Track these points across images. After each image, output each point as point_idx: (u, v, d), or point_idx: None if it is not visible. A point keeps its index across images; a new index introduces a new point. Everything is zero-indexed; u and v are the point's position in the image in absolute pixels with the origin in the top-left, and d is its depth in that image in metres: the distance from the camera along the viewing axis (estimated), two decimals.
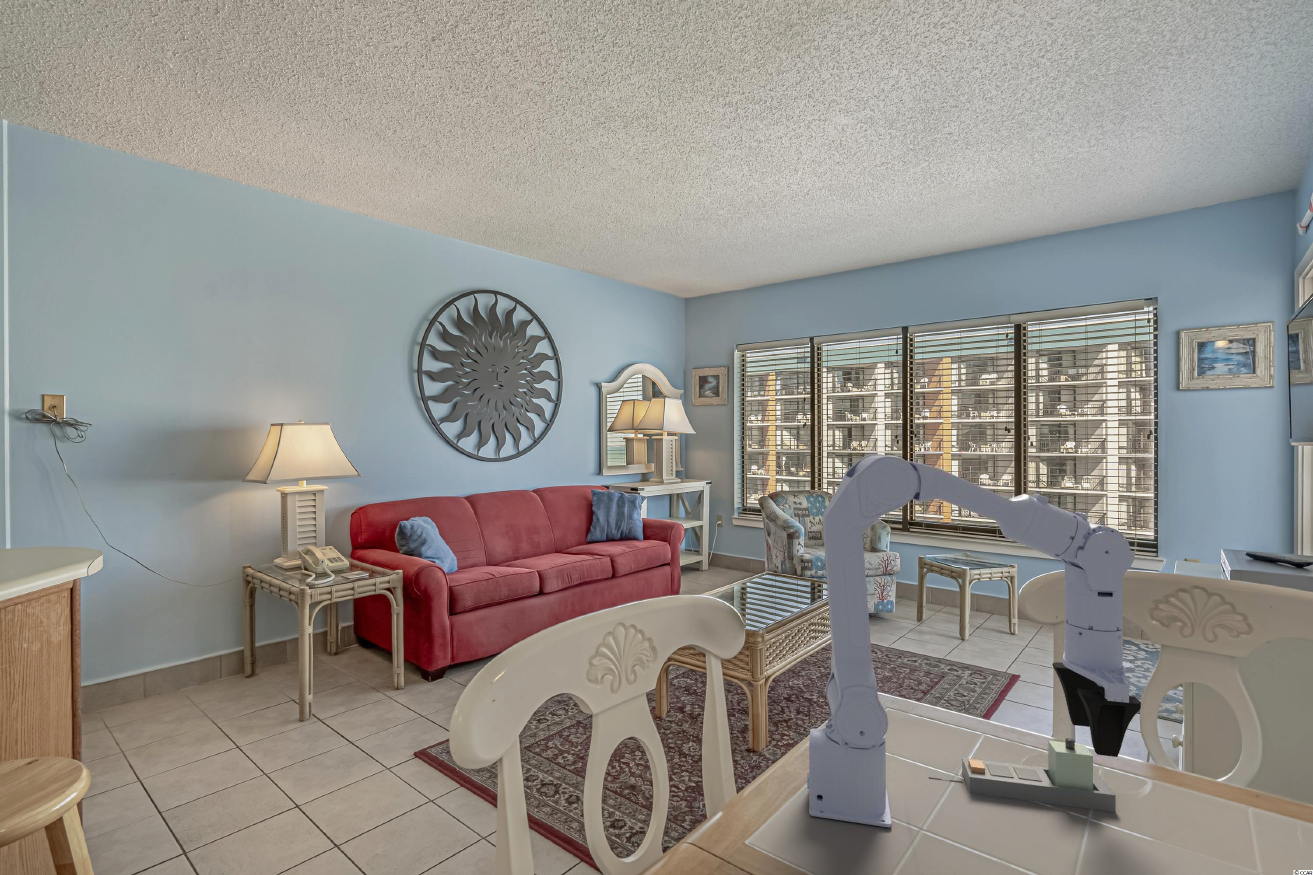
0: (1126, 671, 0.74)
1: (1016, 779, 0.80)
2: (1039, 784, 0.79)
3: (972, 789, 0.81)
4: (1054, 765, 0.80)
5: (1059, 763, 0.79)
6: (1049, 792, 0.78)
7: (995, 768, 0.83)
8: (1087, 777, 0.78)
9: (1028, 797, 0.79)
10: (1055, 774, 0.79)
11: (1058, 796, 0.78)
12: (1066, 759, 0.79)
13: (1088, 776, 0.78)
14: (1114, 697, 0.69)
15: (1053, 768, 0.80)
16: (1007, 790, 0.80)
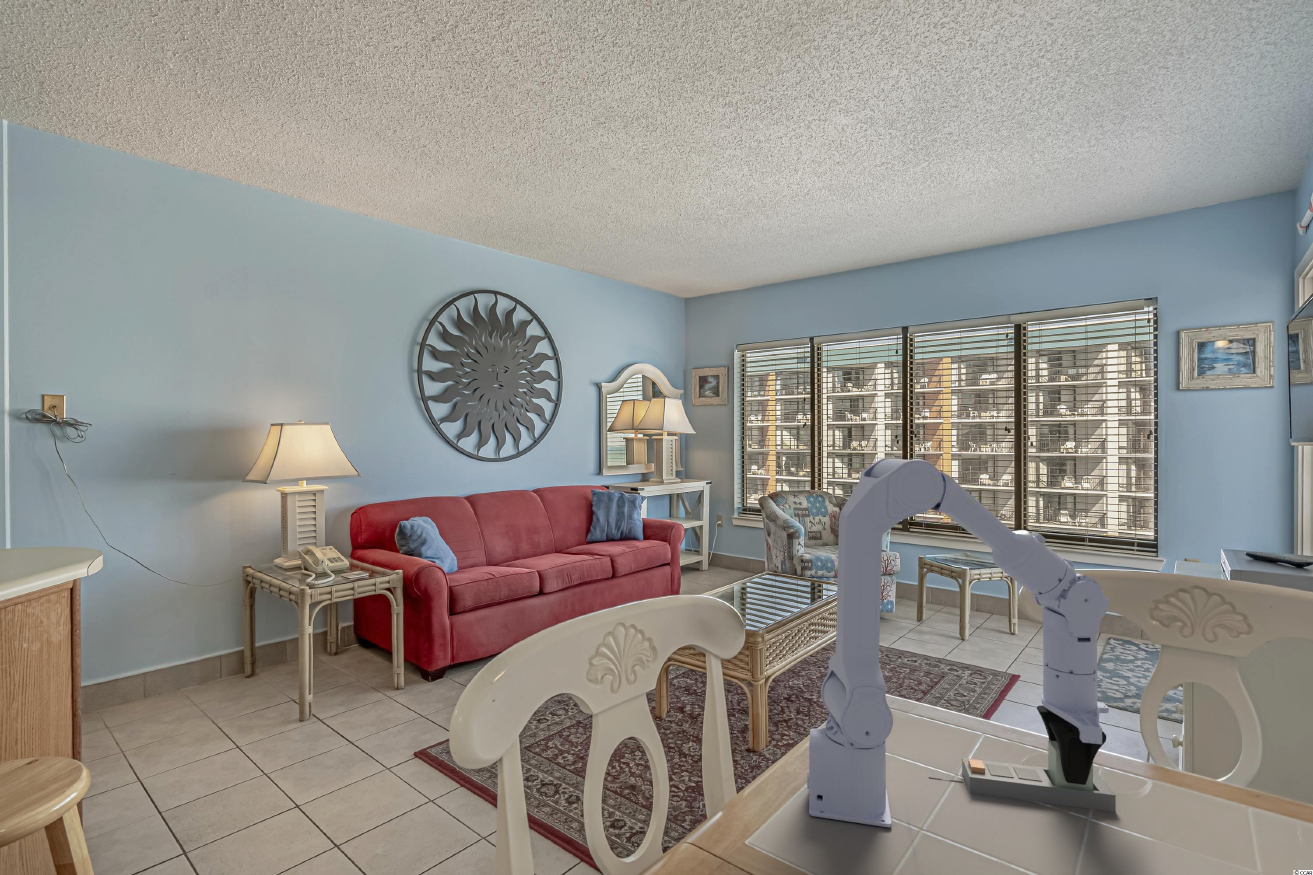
0: (1100, 711, 0.78)
1: (1016, 779, 0.80)
2: (1039, 784, 0.79)
3: (972, 789, 0.81)
4: (1054, 765, 0.80)
5: (1059, 763, 0.79)
6: (1049, 792, 0.78)
7: (995, 768, 0.83)
8: None
9: (1028, 797, 0.79)
10: (1055, 774, 0.79)
11: (1058, 796, 0.78)
12: None
13: (1088, 776, 0.78)
14: (1088, 739, 0.73)
15: (1053, 768, 0.80)
16: (1007, 790, 0.80)
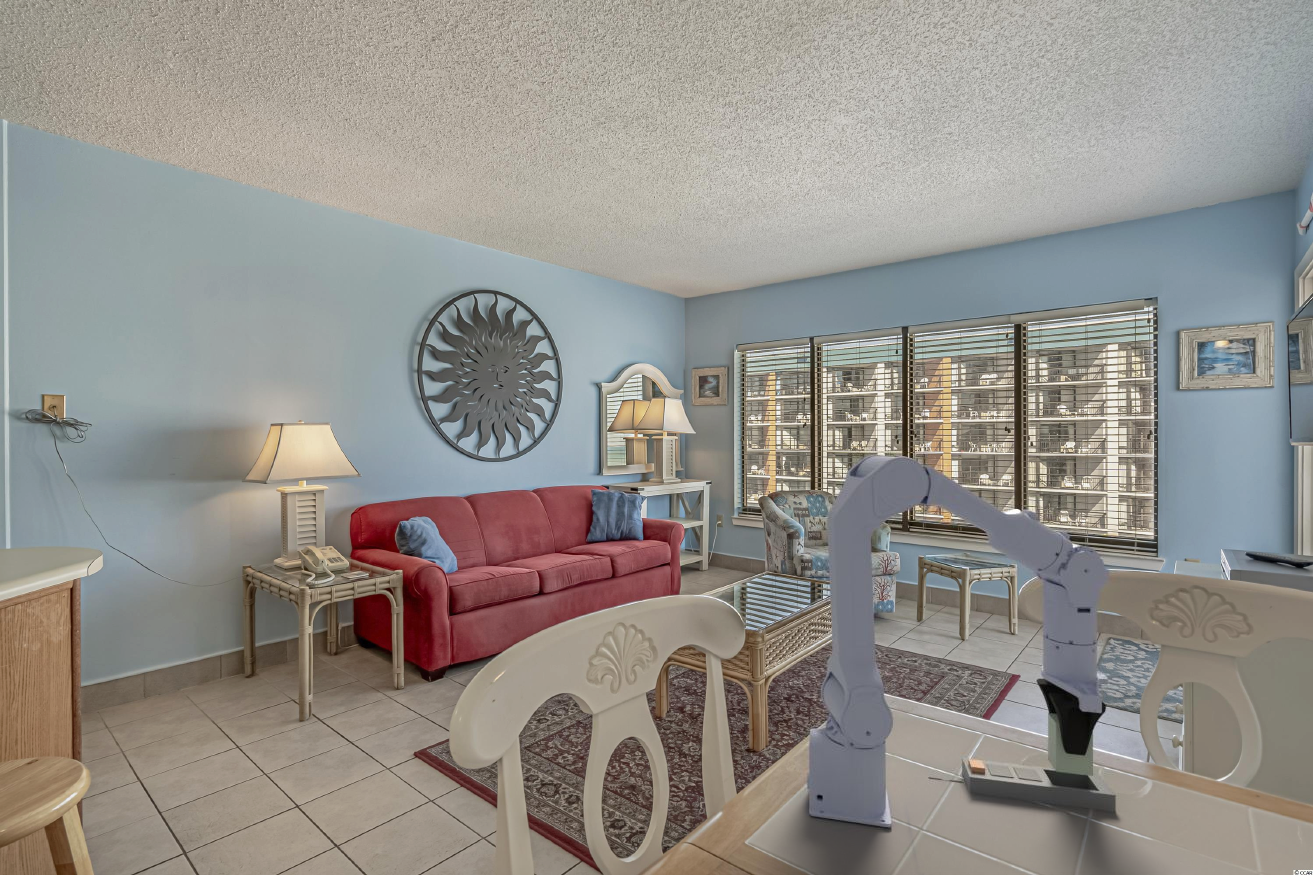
0: (1100, 682, 0.78)
1: (1016, 779, 0.80)
2: (1039, 784, 0.79)
3: (972, 789, 0.81)
4: (1053, 736, 0.80)
5: (1059, 735, 0.79)
6: (1049, 792, 0.78)
7: (995, 768, 0.83)
8: None
9: (1028, 797, 0.79)
10: (1055, 746, 0.79)
11: (1058, 796, 0.78)
12: None
13: (1088, 747, 0.78)
14: (1088, 707, 0.73)
15: (1053, 740, 0.80)
16: (1007, 790, 0.80)
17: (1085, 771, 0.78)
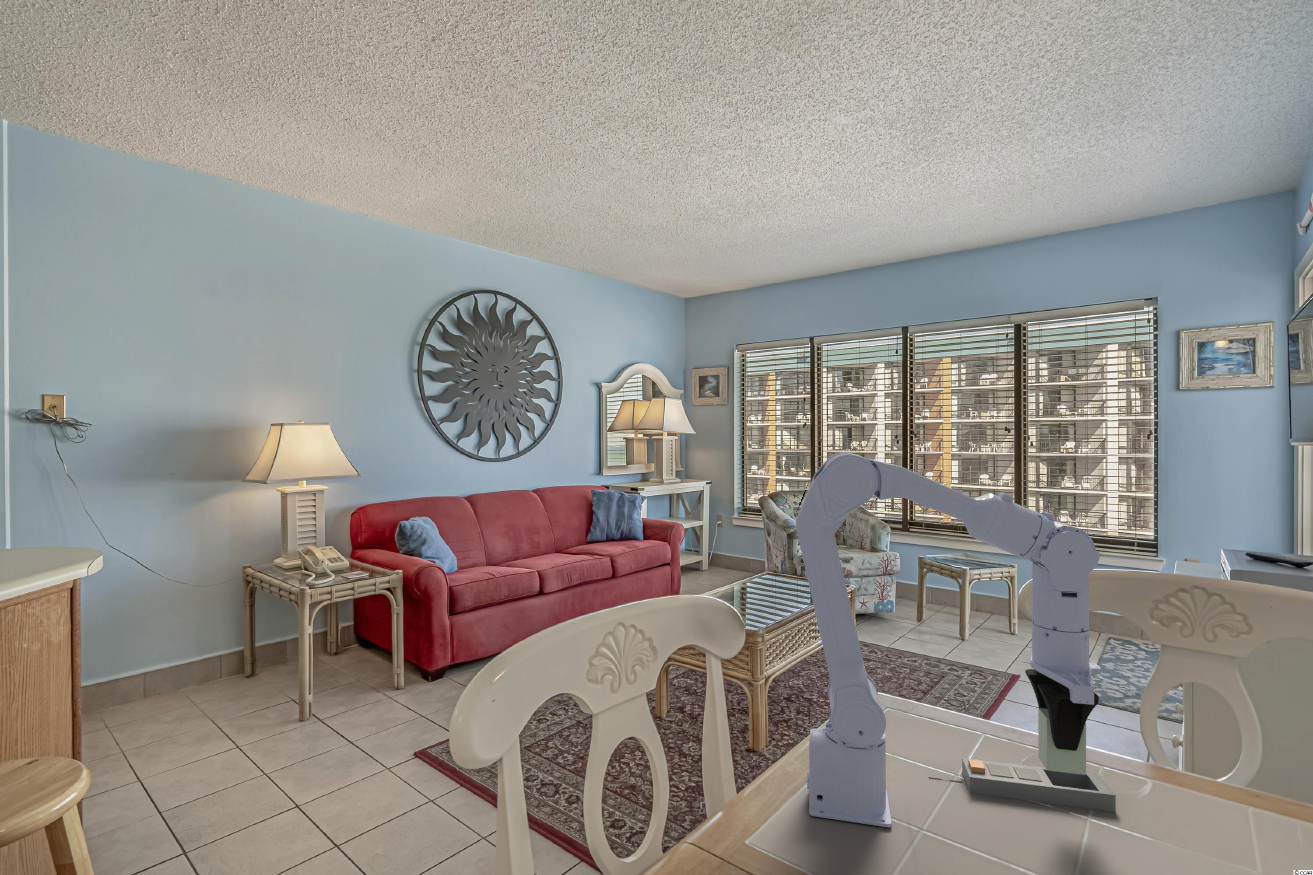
0: (1092, 672, 0.73)
1: (1016, 779, 0.80)
2: (1039, 784, 0.79)
3: (972, 789, 0.81)
4: (1044, 733, 0.74)
5: (1049, 731, 0.74)
6: (1049, 792, 0.78)
7: (995, 768, 0.83)
8: (1080, 745, 0.73)
9: (1028, 797, 0.79)
10: (1045, 743, 0.74)
11: (1058, 796, 0.78)
12: None
13: (1081, 744, 0.73)
14: (1079, 699, 0.68)
15: (1044, 736, 0.75)
16: (1007, 790, 0.80)
17: (1078, 770, 0.73)
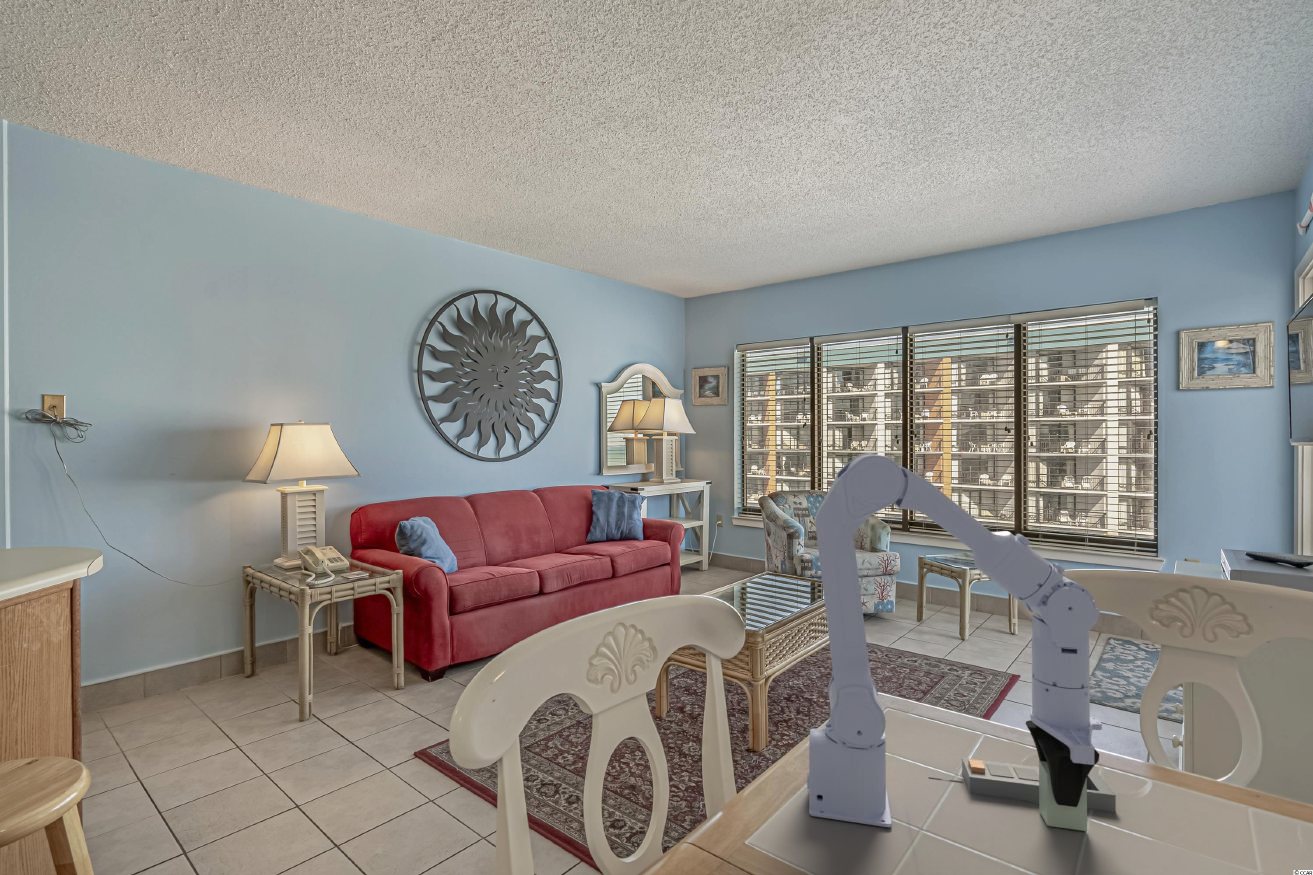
0: (1093, 728, 0.73)
1: (1016, 779, 0.80)
2: None
3: (972, 789, 0.81)
4: (1045, 787, 0.74)
5: (1050, 786, 0.73)
6: None
7: (995, 768, 0.83)
8: (1080, 801, 0.73)
9: (1028, 797, 0.79)
10: (1046, 798, 0.74)
11: None
12: None
13: (1081, 800, 0.73)
14: (1079, 759, 0.68)
15: (1044, 791, 0.74)
16: (1007, 790, 0.80)
17: (1078, 826, 0.73)
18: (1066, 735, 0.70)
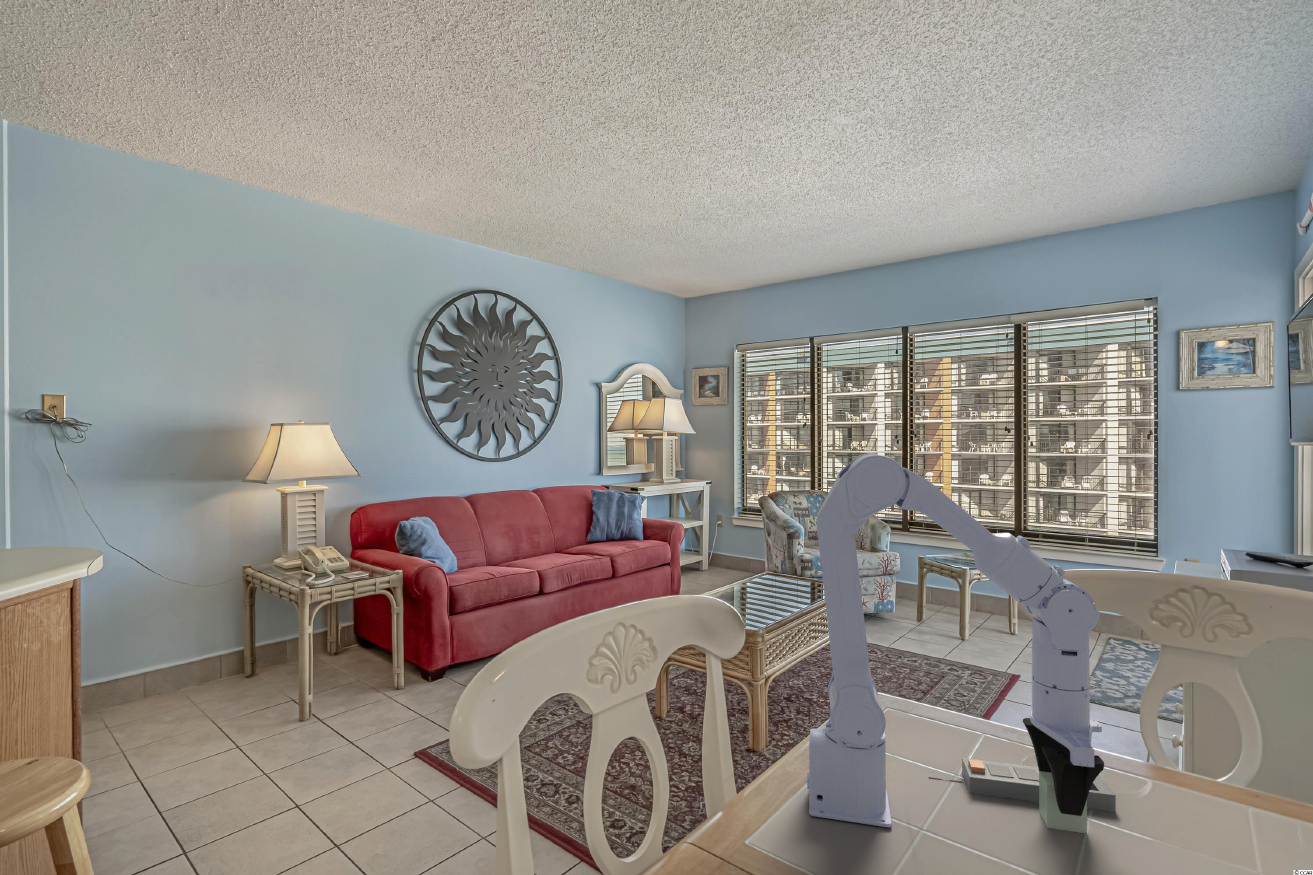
0: (1093, 730, 0.73)
1: (1016, 779, 0.80)
2: None
3: (972, 789, 0.81)
4: (1045, 798, 0.74)
5: (1050, 797, 0.73)
6: None
7: (995, 768, 0.83)
8: None
9: (1028, 797, 0.79)
10: (1046, 808, 0.74)
11: None
12: None
13: None
14: (1079, 761, 0.68)
15: (1044, 802, 0.74)
16: (1007, 790, 0.80)
17: None
18: (1066, 737, 0.70)
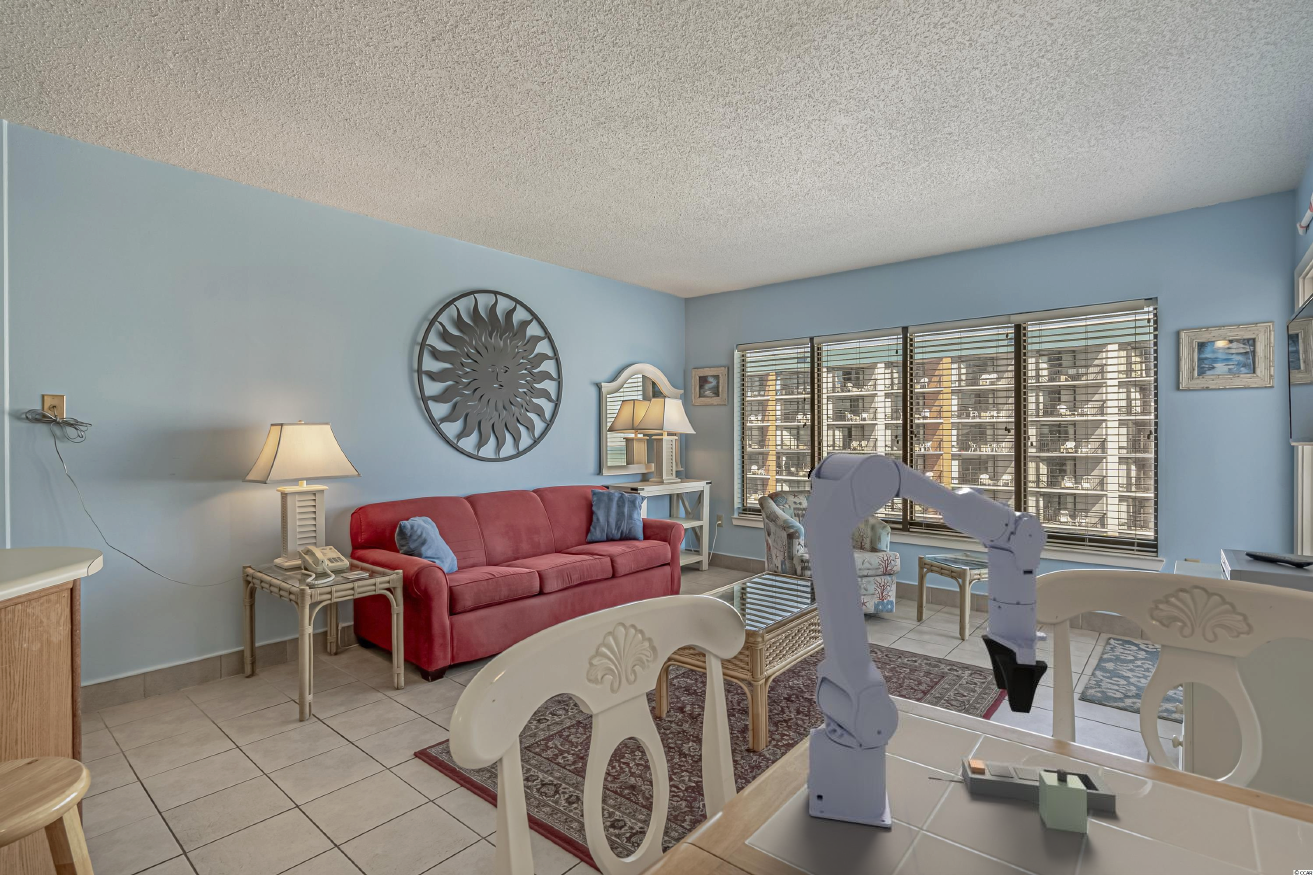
0: (1039, 639, 0.84)
1: (1016, 779, 0.80)
2: None
3: (972, 789, 0.81)
4: (1045, 798, 0.74)
5: (1050, 797, 0.73)
6: None
7: (995, 768, 0.83)
8: (1080, 812, 0.73)
9: (1028, 797, 0.79)
10: (1046, 808, 0.74)
11: None
12: (1057, 793, 0.73)
13: (1081, 811, 0.73)
14: (1023, 660, 0.79)
15: (1044, 802, 0.74)
16: (1007, 790, 0.80)
17: None
18: (1014, 643, 0.82)
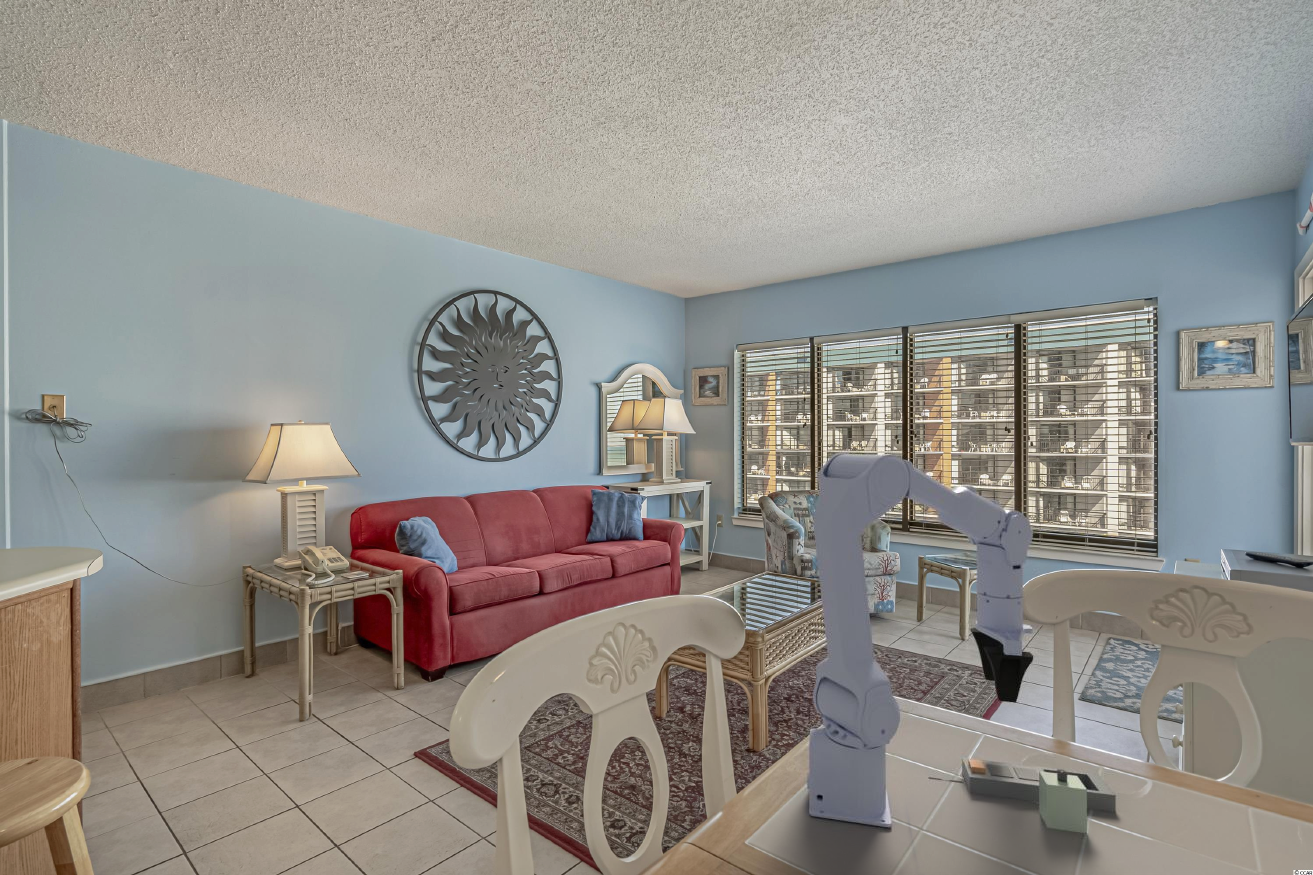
0: (1025, 632, 0.88)
1: (1016, 779, 0.80)
2: None
3: (972, 789, 0.81)
4: (1045, 798, 0.74)
5: (1050, 797, 0.73)
6: None
7: (995, 768, 0.83)
8: (1080, 812, 0.73)
9: (1028, 797, 0.79)
10: (1046, 808, 0.74)
11: None
12: (1057, 793, 0.73)
13: (1081, 811, 0.73)
14: (1010, 651, 0.83)
15: (1044, 802, 0.74)
16: (1007, 790, 0.80)
17: None
18: (1001, 635, 0.85)
